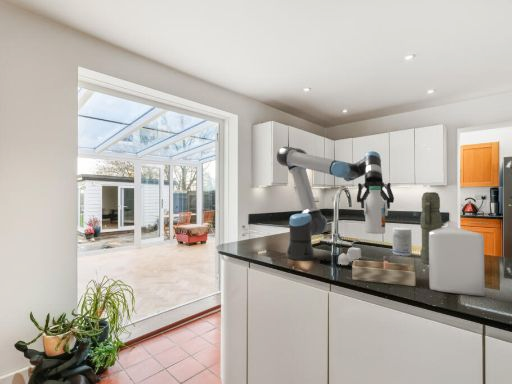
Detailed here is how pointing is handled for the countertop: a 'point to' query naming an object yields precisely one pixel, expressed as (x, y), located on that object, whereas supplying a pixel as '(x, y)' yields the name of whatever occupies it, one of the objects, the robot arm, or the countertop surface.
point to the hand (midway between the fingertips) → (375, 213)
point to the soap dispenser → (456, 261)
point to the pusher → (386, 262)
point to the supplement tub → (402, 241)
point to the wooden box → (384, 272)
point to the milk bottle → (375, 212)
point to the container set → (349, 256)
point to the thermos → (429, 221)
